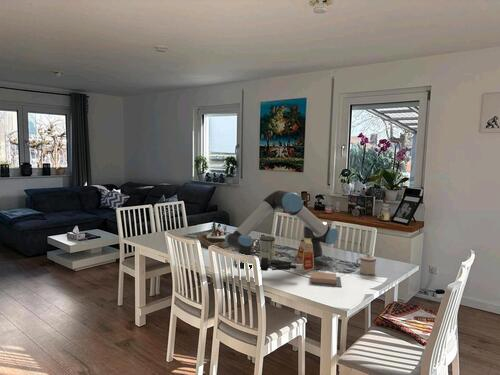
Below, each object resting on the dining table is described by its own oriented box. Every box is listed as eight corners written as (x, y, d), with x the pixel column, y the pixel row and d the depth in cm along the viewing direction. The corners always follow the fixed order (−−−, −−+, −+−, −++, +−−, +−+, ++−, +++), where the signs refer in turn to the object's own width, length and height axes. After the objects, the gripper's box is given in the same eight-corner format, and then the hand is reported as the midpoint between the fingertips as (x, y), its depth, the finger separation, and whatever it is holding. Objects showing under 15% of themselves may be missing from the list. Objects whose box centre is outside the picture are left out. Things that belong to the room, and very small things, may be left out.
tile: (310, 277, 208) (336, 279, 205) (311, 271, 217) (336, 273, 215) (310, 282, 208) (336, 284, 205) (311, 276, 218) (335, 278, 215)
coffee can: (259, 255, 258) (260, 235, 256) (274, 256, 257) (275, 236, 255) (258, 260, 248) (259, 239, 246) (274, 261, 247) (275, 240, 245)
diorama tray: (228, 236, 310) (228, 232, 310) (245, 244, 286) (245, 239, 286) (196, 240, 296) (196, 235, 295) (211, 249, 272) (211, 243, 271)
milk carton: (303, 271, 227) (304, 239, 225) (294, 267, 235) (295, 235, 233) (315, 269, 231) (316, 237, 229) (306, 265, 239) (307, 234, 237)
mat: (311, 284, 205) (311, 284, 205) (312, 275, 220) (312, 274, 220) (341, 287, 203) (341, 286, 202) (340, 277, 217) (340, 277, 217)
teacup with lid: (377, 272, 228) (378, 253, 227) (371, 276, 222) (372, 256, 220) (359, 267, 236) (360, 249, 235) (352, 271, 230) (353, 252, 228)
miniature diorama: (202, 245, 283) (203, 223, 281) (209, 238, 302) (209, 218, 301) (228, 246, 280) (229, 224, 278) (233, 240, 300) (234, 219, 298)
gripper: (262, 266, 224) (302, 269, 219) (259, 273, 211) (301, 277, 207) (262, 254, 223) (302, 257, 219) (259, 260, 210) (302, 264, 206)
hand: (302, 266), depth 213 cm, fingers closed
